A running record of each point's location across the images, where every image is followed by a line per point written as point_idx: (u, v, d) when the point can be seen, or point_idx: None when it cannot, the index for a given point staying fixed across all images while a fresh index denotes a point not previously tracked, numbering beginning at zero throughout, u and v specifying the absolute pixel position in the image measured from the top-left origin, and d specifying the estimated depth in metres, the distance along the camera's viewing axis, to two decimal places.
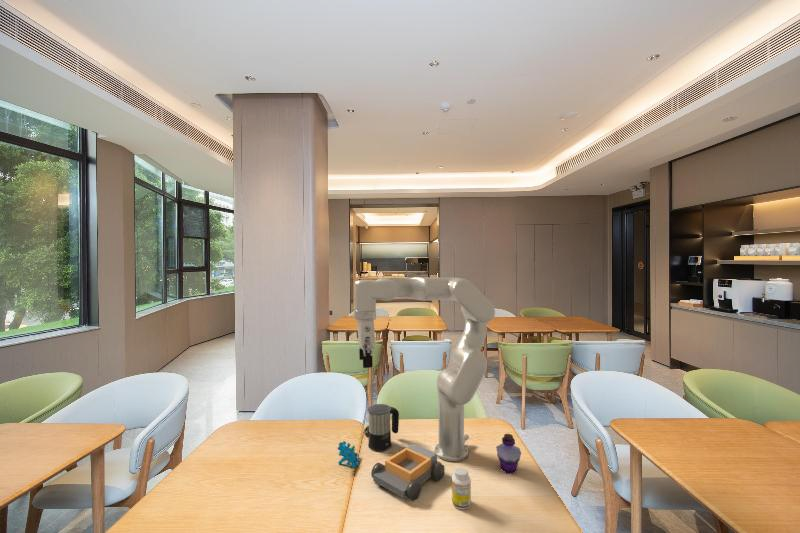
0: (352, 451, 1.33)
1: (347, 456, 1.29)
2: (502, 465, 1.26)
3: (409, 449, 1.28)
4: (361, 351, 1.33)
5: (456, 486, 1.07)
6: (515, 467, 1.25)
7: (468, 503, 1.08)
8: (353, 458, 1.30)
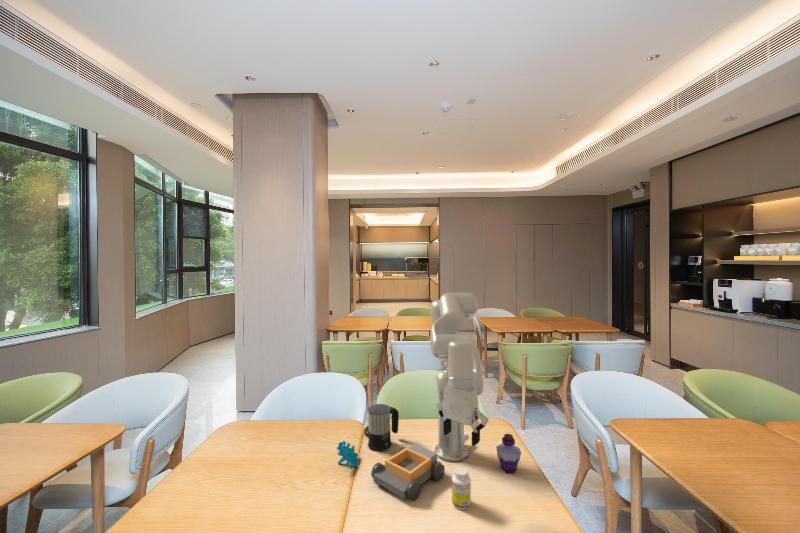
0: (352, 451, 1.33)
1: (346, 456, 1.29)
2: (502, 465, 1.26)
3: (409, 449, 1.28)
4: None
5: (456, 486, 1.07)
6: (515, 467, 1.25)
7: (468, 503, 1.08)
8: (353, 458, 1.30)
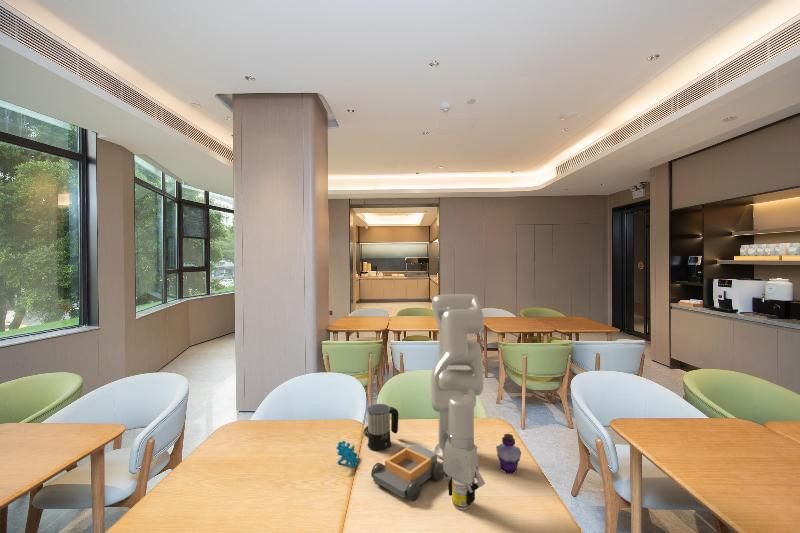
0: (351, 451, 1.33)
1: (346, 456, 1.29)
2: (502, 465, 1.26)
3: (409, 449, 1.28)
4: None
5: (456, 486, 1.07)
6: (515, 467, 1.25)
7: None
8: (352, 458, 1.30)
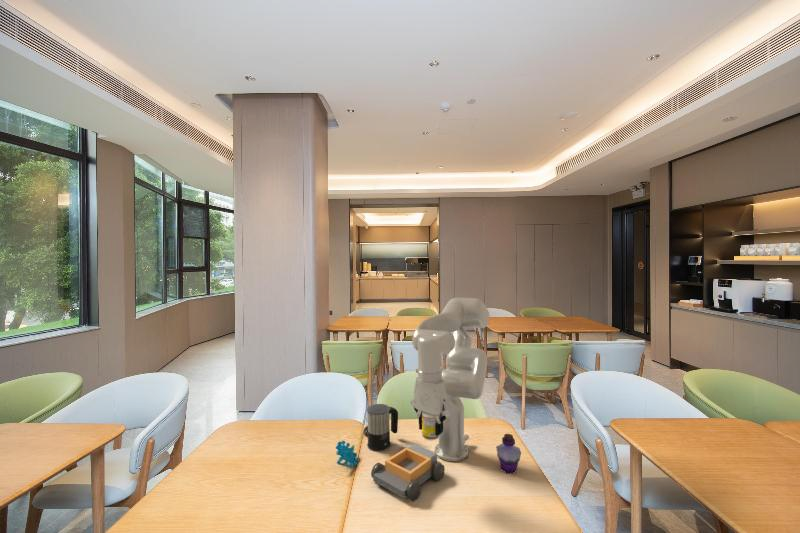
0: (351, 451, 1.33)
1: (345, 456, 1.29)
2: (502, 465, 1.26)
3: (409, 449, 1.28)
4: None
5: (426, 419, 1.14)
6: (515, 467, 1.25)
7: None
8: (351, 458, 1.30)
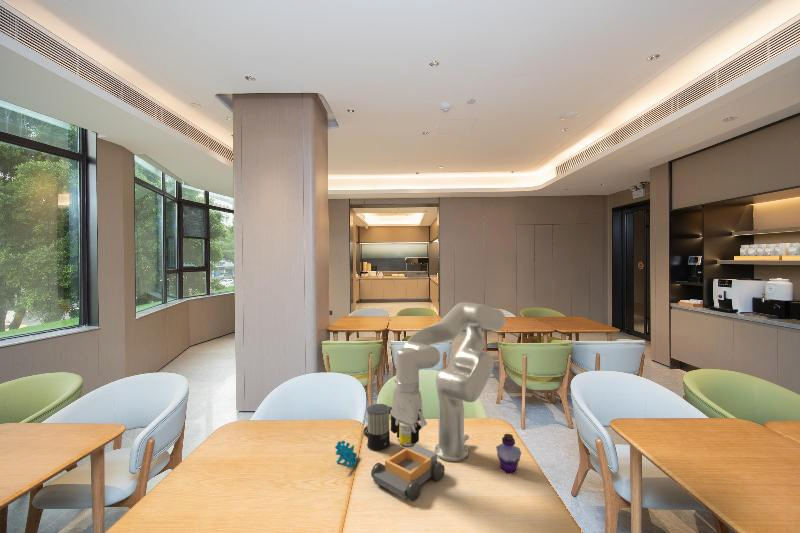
0: (351, 451, 1.33)
1: (344, 455, 1.29)
2: (502, 465, 1.26)
3: (409, 449, 1.28)
4: None
5: (402, 428, 1.19)
6: (515, 467, 1.25)
7: None
8: (351, 458, 1.31)
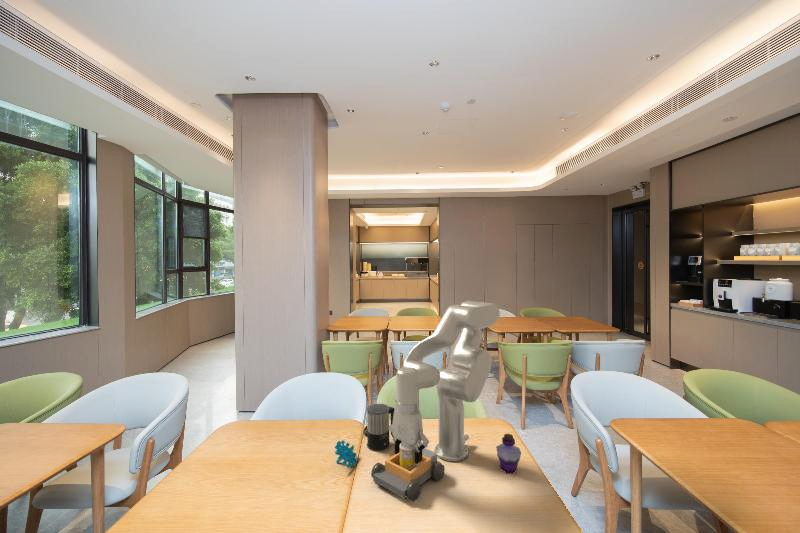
0: (350, 451, 1.33)
1: (344, 455, 1.29)
2: (502, 465, 1.26)
3: None
4: None
5: (402, 452, 1.20)
6: (515, 467, 1.25)
7: (413, 467, 1.20)
8: (350, 458, 1.31)
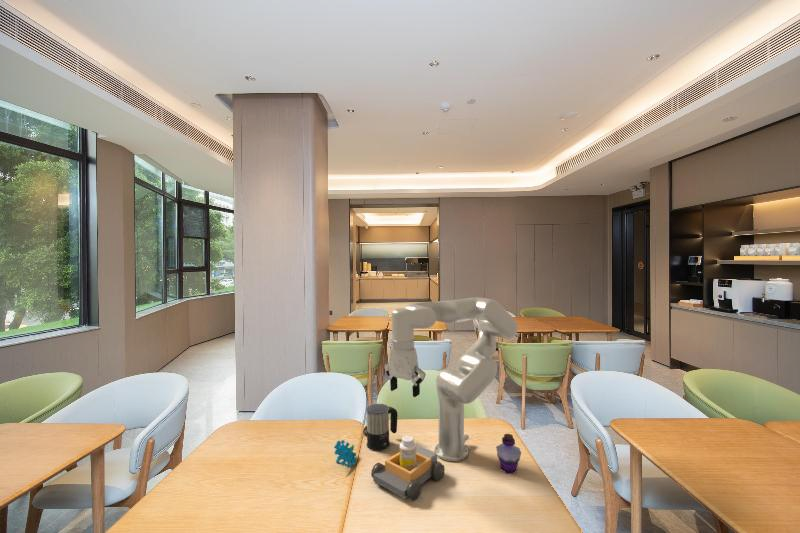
0: (350, 451, 1.34)
1: (343, 455, 1.29)
2: (502, 465, 1.26)
3: None
4: None
5: (402, 452, 1.20)
6: (515, 467, 1.25)
7: (413, 467, 1.20)
8: (350, 458, 1.31)
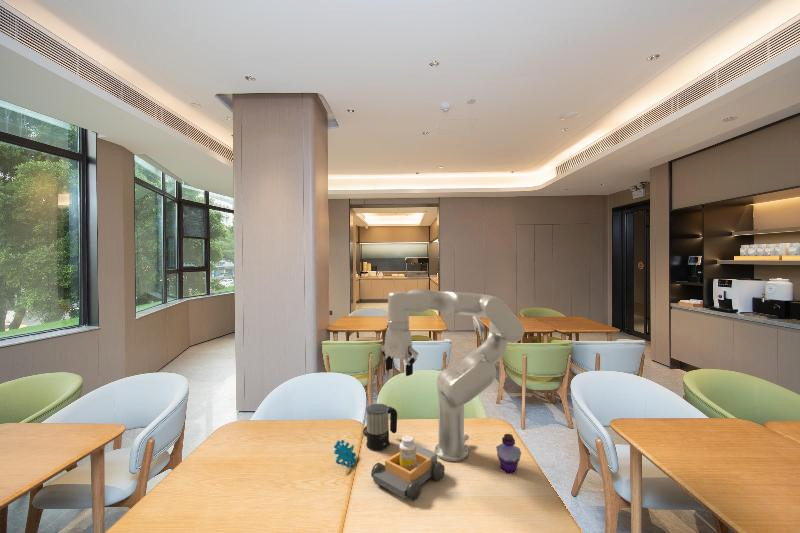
0: (350, 450, 1.34)
1: (343, 455, 1.29)
2: (502, 465, 1.26)
3: None
4: None
5: (402, 451, 1.20)
6: (515, 467, 1.25)
7: (413, 467, 1.20)
8: (349, 458, 1.31)
